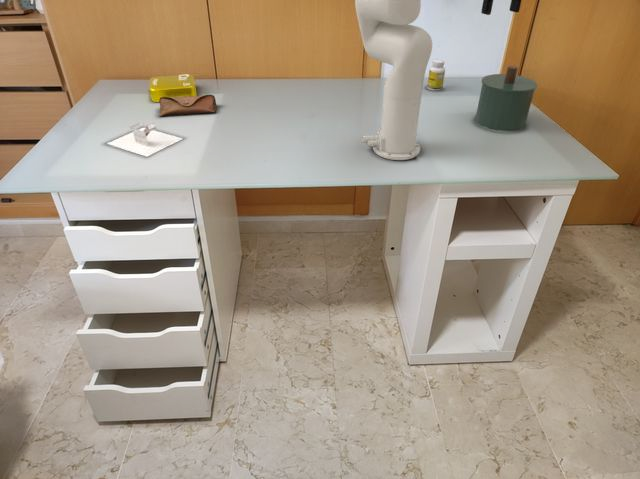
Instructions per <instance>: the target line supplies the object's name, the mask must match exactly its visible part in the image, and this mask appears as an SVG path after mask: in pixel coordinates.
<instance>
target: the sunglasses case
mask: <svg viewBox="0 0 640 479" xmlns="http://www.w3.org/2000/svg"><path fill="white" fill-rule="evenodd" d="M159 101H160V102H159V114H158V116H159V117H167V116H184V115H185V116H186V115H204V114H212V113H216V112H217V107H218V106H217V101H216V96H214V95H213V94H205V95H204V94H203V95H197V96H185V97H161V98H160V100H159Z"/></svg>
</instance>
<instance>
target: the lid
mask: <svg viewBox="0 0 640 479" xmlns="http://www.w3.org/2000/svg"><path fill="white" fill-rule="evenodd" d="M518 70H519V67H518V66H516V65H508V66H507V68H506V72H505V73H495V74H494V73H493V74H488V75H485V76H483V77H482V78H481V85H482V84H483V85H484V86H486V87H488V88H491V89H494V90H498V91H503V92H512V93H524V92H530V91H533V90H534V91H536V90H537V89H538V83H537V81H535V80H533V79H532V78H528V77H525V76H522V75H517V74H518Z"/></svg>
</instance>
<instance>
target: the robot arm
mask: <svg viewBox="0 0 640 479" xmlns="http://www.w3.org/2000/svg"><path fill="white" fill-rule="evenodd" d="M421 3H422V2H421V0H354V7H355V13H356V18H357V22H358V25H359V31H360V36H361V42H362V45H363V49H364V50H365V52H366V54H367V55H368V57H369V58H371V59H372V60H374V61H378V62H380V63H385V64H388V65H390V66H392V70H391V71H390V73H389V74H388V76H387V77H386V79H385V82H384V86H383V94H382V96H383V97H382V107H381V118H380V120H381V122H380V130H378V131H377V134H374V135H362V139H361V140H362V144H367V146H369V147H372V148H373V152H374V153H375V154H376V155H378V156H379V157H381V158H382V159H383V158H384V159H386V160H392V161H406V160H411V159H414V158H416V157H417V156H418V155H419V154H420V153H421V146H420V145H419V144H418V142H416V140H417V135H418V134H417V132H418V124H419V118H420V110H421V104H422V93H423V86H424V79H425V74H426V71H427V67H428V65H429V62H430V59H431V56H432V51H433V40H432V37H431V35H430V33H429V32H428V31H427V30H425V29H424V28H422V27H419V26H417V25H412V23H414V22H416V20H417V19H418V17H419V15H420V13H421V6H422V5H421ZM493 3H494V0H483V1H482V6H481V14H482V15H486V16H490V15H491V14H492V9H493V5H494V4H493ZM521 5H522V0H510V4H509V11H510V12H513V13H519V12H520V10H521Z"/></svg>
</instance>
